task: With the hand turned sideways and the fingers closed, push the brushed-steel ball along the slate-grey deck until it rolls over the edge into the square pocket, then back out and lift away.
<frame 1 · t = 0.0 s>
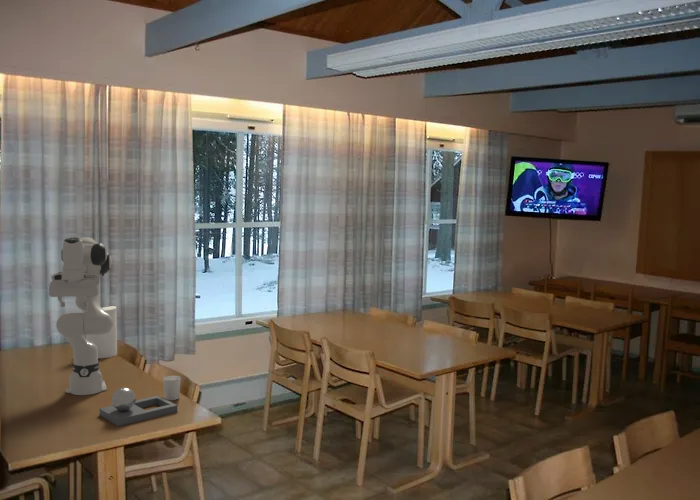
hand: (74, 306, 295), 48 cm above the table, tool pointing down, fingers open, 8 cm apart
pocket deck: (138, 413, 300), on the table
steel ball: (123, 399, 295), point 8 cm above the table, touching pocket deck
cylinder: (101, 354, 398), on the table
white cup: (172, 398, 322), on the table
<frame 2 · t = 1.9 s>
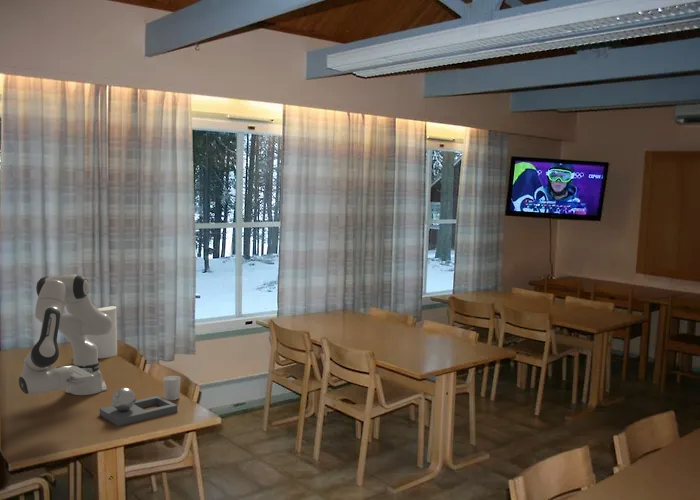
hand: (96, 372, 285), 22 cm above the table, tool horizontal, fingers open, 7 cm apart
nothing on the table moved.
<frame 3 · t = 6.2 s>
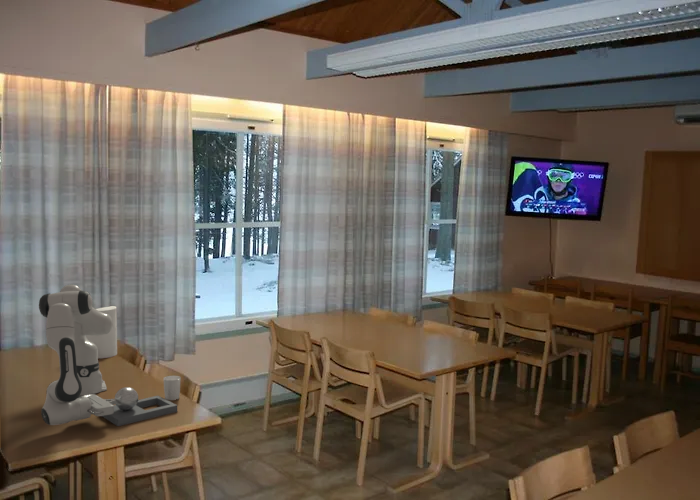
hand: (115, 401, 292), 8 cm above the table, tool horizontal, fingers closed
steel ball: (126, 398, 295), point 8 cm above the table, tilted 13°, touching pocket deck
everything else where it was.
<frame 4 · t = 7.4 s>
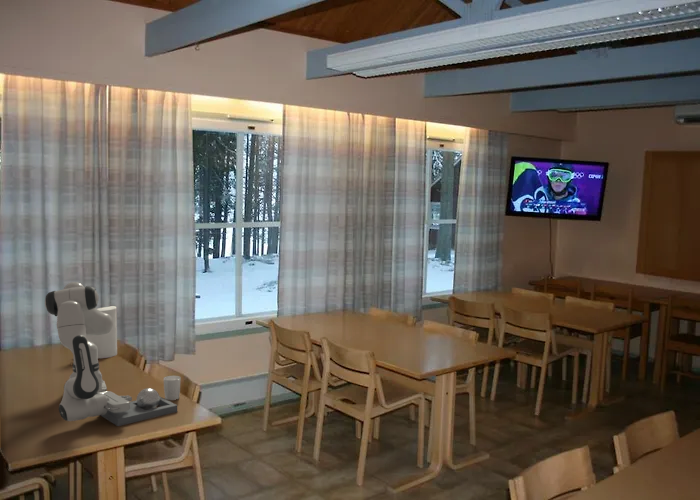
hand: (130, 397, 297), 8 cm above the table, tool horizontal, fingers closed
steel ball: (148, 399, 302), point 6 cm above the table, tilted 139°
everything else where it was.
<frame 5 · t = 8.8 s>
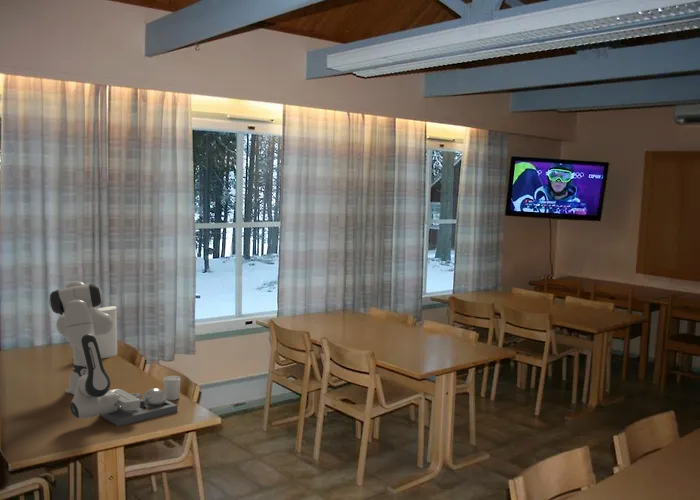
hand: (140, 395, 300), 8 cm above the table, tool horizontal, fingers closed
steel ball: (154, 399, 304), point 5 cm above the table, tilted 175°
everything else where it was.
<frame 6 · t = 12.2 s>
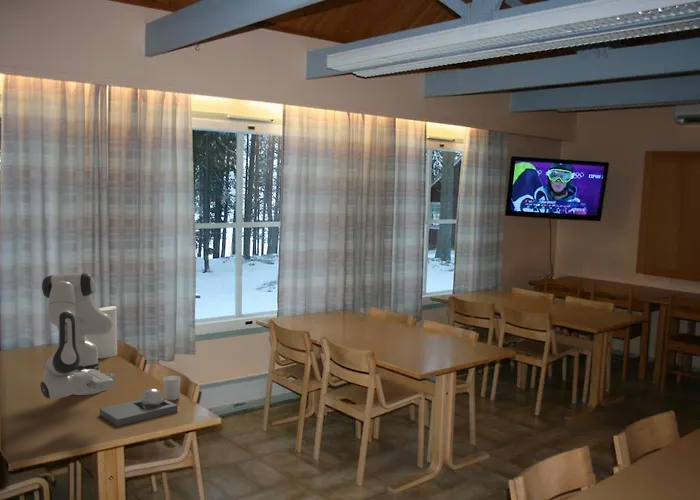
hand: (114, 375, 291), 19 cm above the table, tool horizontal, fingers closed
steel ball: (152, 399, 304), point 5 cm above the table, tilted 164°
everything else where it was.
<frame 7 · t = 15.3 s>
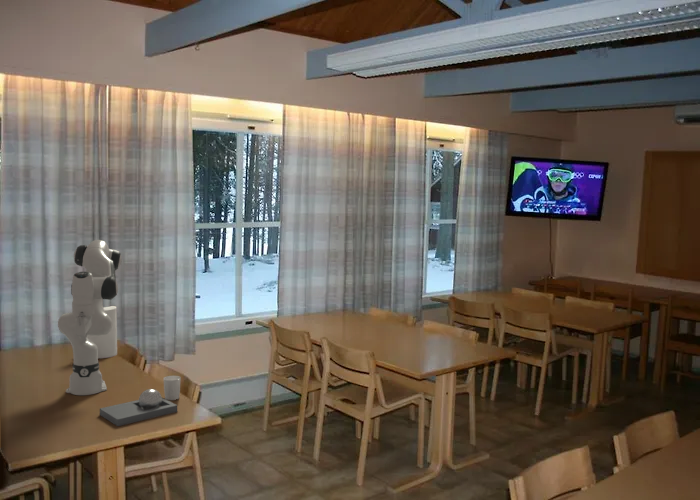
hand: (84, 341, 289), 34 cm above the table, tool pointing down, fingers closed
steel ball: (150, 400, 303), point 5 cm above the table, tilted 153°
everything else where it was.
at the end: steel ball inside the target area on the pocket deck (0.8 cm from its centre), point 5.0 cm above the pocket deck's base; steel ball touching table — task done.
